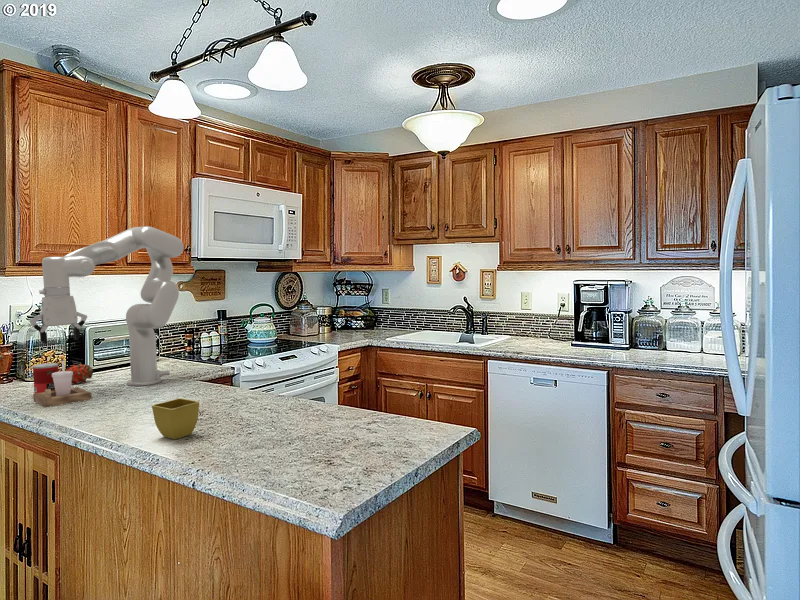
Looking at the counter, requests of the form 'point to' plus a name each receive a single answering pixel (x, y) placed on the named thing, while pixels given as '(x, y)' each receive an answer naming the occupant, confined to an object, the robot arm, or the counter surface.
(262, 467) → the counter surface
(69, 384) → the smoothie
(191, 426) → the flower pot
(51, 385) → the canned food
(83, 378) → the dragon fruit
